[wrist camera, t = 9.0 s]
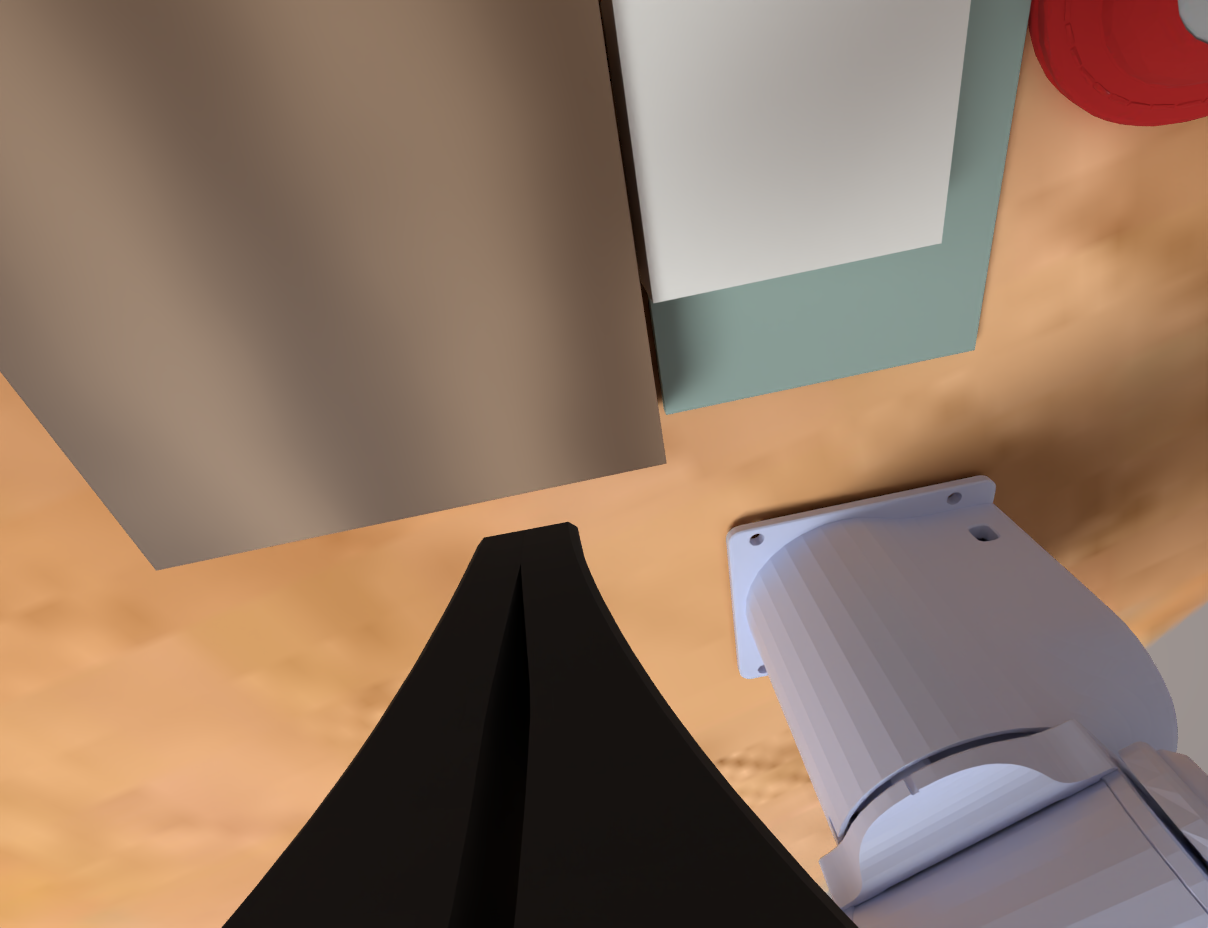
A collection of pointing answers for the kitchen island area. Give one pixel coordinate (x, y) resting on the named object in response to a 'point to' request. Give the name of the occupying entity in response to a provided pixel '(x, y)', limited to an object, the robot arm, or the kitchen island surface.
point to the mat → (863, 269)
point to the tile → (782, 132)
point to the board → (317, 259)
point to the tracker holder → (1126, 57)
